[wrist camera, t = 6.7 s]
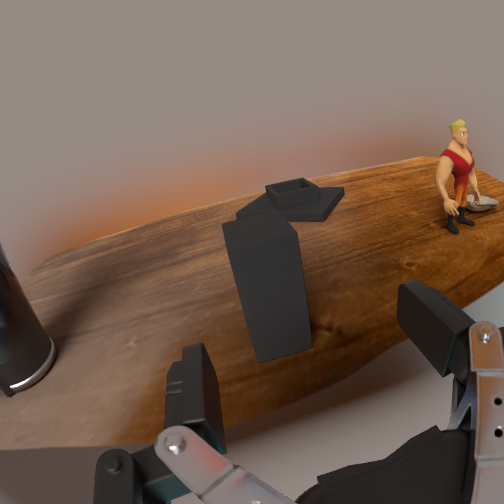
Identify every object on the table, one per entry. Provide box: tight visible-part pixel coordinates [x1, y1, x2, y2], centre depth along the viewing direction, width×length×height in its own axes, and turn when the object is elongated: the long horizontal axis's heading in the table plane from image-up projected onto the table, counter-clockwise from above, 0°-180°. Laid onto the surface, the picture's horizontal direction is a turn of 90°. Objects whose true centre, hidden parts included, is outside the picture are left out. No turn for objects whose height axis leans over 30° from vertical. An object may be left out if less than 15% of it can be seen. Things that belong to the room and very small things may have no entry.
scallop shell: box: [461, 194, 499, 211], centre depth 38 cm, size 8×3×8 cm
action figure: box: [435, 119, 481, 234], centre depth 32 cm, size 10×4×15 cm, turn 108°
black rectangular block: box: [222, 210, 312, 363], centre depth 23 cm, size 5×4×10 cm
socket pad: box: [236, 178, 344, 222], centre depth 55 cm, size 14×16×4 cm
